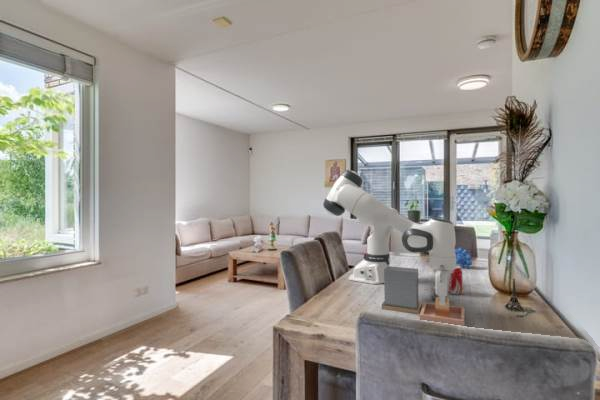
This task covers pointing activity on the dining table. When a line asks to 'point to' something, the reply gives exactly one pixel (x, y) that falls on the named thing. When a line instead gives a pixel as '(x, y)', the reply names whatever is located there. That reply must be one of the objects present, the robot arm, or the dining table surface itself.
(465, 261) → the grapes
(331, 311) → the dining table surface
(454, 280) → the soda can
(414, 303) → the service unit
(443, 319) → the tray
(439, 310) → the oak wood brick
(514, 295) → the eiffel tower figurine
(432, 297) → the steel cylinder
